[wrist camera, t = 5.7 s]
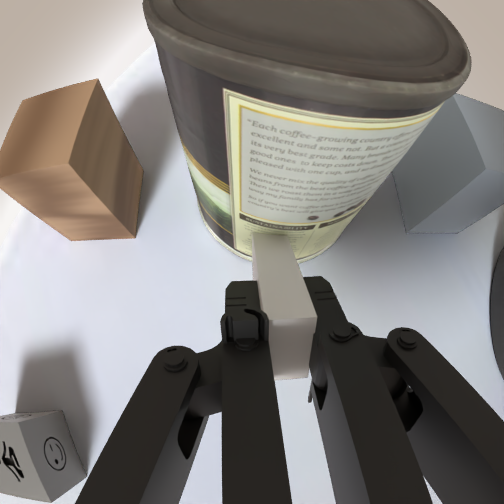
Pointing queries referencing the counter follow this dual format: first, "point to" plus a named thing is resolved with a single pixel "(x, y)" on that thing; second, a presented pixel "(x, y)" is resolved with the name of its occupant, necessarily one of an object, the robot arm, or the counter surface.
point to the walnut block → (73, 164)
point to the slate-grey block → (453, 168)
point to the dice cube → (37, 456)
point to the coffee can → (300, 106)
